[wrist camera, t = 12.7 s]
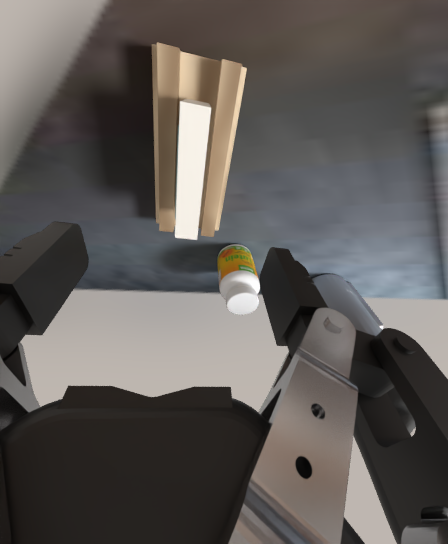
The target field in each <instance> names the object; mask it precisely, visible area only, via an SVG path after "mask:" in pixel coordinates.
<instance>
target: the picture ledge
mask: <svg viewBox="0 0 448 544" xmlns="http://www.w3.org/2000/svg"><path fill="white" fill-rule="evenodd" d="M246 70H247V68H244V67H242V64H240V63H236V62H232V61H228V60H224V59H222V61H217V60H213V59H209V58H205V57H201V56H197V55H193V54H189V53H185V52H181V51H180V49H179V48H177V47H173V46H169V45H165V44H161V43H157V45H153V44H152V74H153V115H154V157H155V199H156V223H159V224H160V231H167V232H173V230H174V226H175V225H176V219H175V198H176V168H177V138H178V125H179V117H180V101H182V100H185V99H191V100H196V101H200V102H205V103H209V105H210V106H211V115H210V124H209V134H208V143H207V152H206V161H205V170H204V179H203V188H202V198H201V207H200V216H199V225H198V228H201V235H202V236H211V237H214V231H215V230H219V224H220V218H221V213H222V207H223V201H224V195H225V190H226V184H227V178H228V173H229V167H230V161H231V156H232V150H233V144H234V139H235V133H236V127H237V122H238V116H239V110H240V105H241V99H242V93H243V87H244V82H245V76H246Z"/></svg>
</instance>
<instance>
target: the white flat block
mask: <svg viewBox="0 0 448 544" xmlns="http://www.w3.org/2000/svg"><path fill="white" fill-rule="evenodd" d="M210 115H211V106H210V105H209V103H205V102H200V101H196V100H191V99H185V100H182V101H180V117H179V125H178V138H177V168H176V198H175V219H176V226H175V237H176V238H185V239H194V240H197V234H198V225H199V216H200V207H201V198H202V188H203V179H204V170H205V161H206V152H207V143H208V134H209V124H210Z"/></svg>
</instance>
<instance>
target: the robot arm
mask: <svg viewBox="0 0 448 544" xmlns="http://www.w3.org/2000/svg"><path fill="white" fill-rule="evenodd" d="M87 267H88V254H87V250H86V246H85V242H84V239H83V235H82V231H81V228H80V226H79V225H78V224H73V223H65V222H52V223H51V224H50V225H49V226H47V227H46V228H45V229H44V230H43V231H41V232H38V233H36V234H33V235H31V236H29V237H26V238H24V239H22V240H21V241H20V242H19V243H17V244H16V245H15V246H14V247H13V249H10V250H9V251H7V252H6V253H5V254H4V256H1V257H0V544H365V543H364V542H363V541H362V540H361V538H360V537H359V536H358V534H357V533H356V532H355V531H354V529H353V528H352V527H351V526H350V524H349V523H348V522H347V520H346V519H345V518H344V510H345V501H346V493H347V484H348V476H349V468H350V459H351V451H352V442H353V435H354V437H355V440H356V442H357V445H358V447H359V449H360V452H361V454H362V457H363V459H364V461H365V464H366V467H367V469H368V472H369V474H370V476H371V479H372V482H373V484H374V487H375V490H376V492H377V495H378V497H379V500H380V503H381V505H382V507H383V510H384V513H385V515H386V518H387V521H388V523H389V525H390V528H391V530H392V533H393V535H394V537H395V540H396V542H397V544H448V379H447V378H446V377H445V376H444V374H443V373H442V372H441V371H440V370H439V368H438V367H437V366H436V364H435V363H434V362H433V361H432V359H431V358H430V357H429V356H428V355H427V353H426V352H425V351H424V349H423V348H422V347H421V346H420V345H419V344H418V343H417V342H416V341H415V340H414V339H412V338H411V337H410V336H408V335H406V334H405V333H403V332H401V331H399V330H396V329H391V328H385V329H383V324H382V322H380V320H379V319H378V317H377V316H376V315H375V313H374V312H373V311H372V310H371V308H370V307H369V306H368V304H367V303H366V302H365V301H364V299H363V298H362V297H361V295H360V294H359V293H358V292H357V290H356V289H355V288H354V286H353V285H352V284H351V283H348V282H346V281H345V280H344V279H343V278H342V277H340V276H338V275H334V274H325V275H320V276H317V277H315V278H310V275H309V273H308V271H307V270H306V268H305V267H304V266H303V265H301V264H300V263H299V262H298V261H295V260H294V258H293V257H292V255H291V253H290V251H289V250H288V249H283V248H275V247H271V248H270V250H269V252H268V254H267V257H266V260H265V263H264V265H263V268H262V271H261V274H260V288H261V292H262V295H263V298H264V302H265V305H266V309H267V312H268V316H269V319H270V323H271V326H272V330H273V333H274V336H275V340H276V344H277V346H288V349H289V352H288V354H287V355H286V358H285V360H284V362H283V364H282V366H281V368H280V370H279V373H278V375H277V377H276V379H275V381H274V383H273V385H272V388H271V390H270V392H269V394H268V396H267V397H266V399H265V401H264V403H263V405H262V406H261V408H260V411H259V412H257V411H256V410H254V409H253V408H252V407H250V406H248V405H247V404H245V403H243V402H241V401H238V400H236V399H233V398H232V396H231V387H192V388H188V389H184V390H180V391H176V392H173V393H169V394H165V395H162V396H158V397H147V396H144V395H140V394H137V393H134V392H130V391H127V390H123V389H120V388H117V387H113V386H68V388H67V390H66V392H65V394H64V396H63V399H61V400H58V401H55V402H52V403H49V404H46V405H44V406H42V407H40V405H39V403H38V401H37V400H36V397H35V395H34V392H33V389H32V384H31V380H30V375H29V371H28V367H27V362H26V358H25V353H24V349H23V346H22V344H21V343H20V341H21V340H22V338H23V337H24V336H25V335H43V333H44V332H45V330H46V329H47V327H48V326H49V324H50V323H51V321H52V320H53V318H54V317H55V316H56V314H57V313H58V311H59V310H60V308H61V307H62V305H63V304H64V302H65V301H66V299H67V298H68V296H69V295H70V293H71V292H72V291H73V289H74V288H75V286H76V285H77V283H78V282H79V280H80V279H81V277H82V276H83V274H84V273H85V271H86V270H87ZM382 329H383V330H382ZM415 427H416V431H415V434H414V435H413V436H412V437H411V435H410V433H411V432H412V430H413V429H414V428H415Z"/></svg>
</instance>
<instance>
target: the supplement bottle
mask: <svg viewBox="0 0 448 544" xmlns="http://www.w3.org/2000/svg"><path fill="white" fill-rule="evenodd" d="M217 264H218V277H219V289H220V293H221V295H222V297H223V298H224V299H225V300H226V304H227V308H228V310H229V311H230V312H231V313H233V314H236V315H246V314H249V313H251V312H253V311H254V310H255V309H256V308H257V307H258V305H259V299H258V295H257V294H258V293H259V290H260V282H259V279H258V275H257V272H256V269H255V265H254V262H253V258H252V255H251V253H250V251H249V250H248V249H247V248H246V247H245V246H242V245H239V244H233V245H229V246H226V247H225V248H223V249H222V250H221V251H220V253H219V255H218V258H217Z"/></svg>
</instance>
